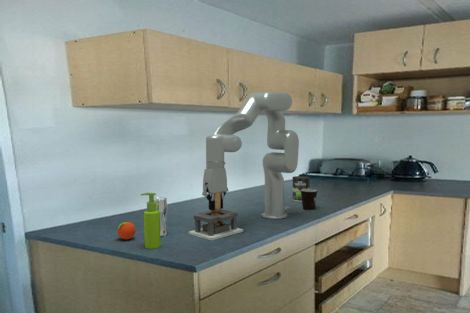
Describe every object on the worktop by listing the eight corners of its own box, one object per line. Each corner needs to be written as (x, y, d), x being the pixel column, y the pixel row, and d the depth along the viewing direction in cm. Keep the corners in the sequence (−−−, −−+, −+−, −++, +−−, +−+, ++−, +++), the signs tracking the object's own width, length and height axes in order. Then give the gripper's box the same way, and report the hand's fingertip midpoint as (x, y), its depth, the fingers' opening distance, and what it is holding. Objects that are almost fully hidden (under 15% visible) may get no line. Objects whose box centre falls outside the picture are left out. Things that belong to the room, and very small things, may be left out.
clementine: (123, 243, 147) (122, 225, 147) (111, 240, 151) (111, 222, 151) (139, 238, 154) (139, 220, 153) (128, 235, 158) (127, 218, 157)
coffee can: (308, 202, 226) (308, 178, 225) (291, 201, 229) (291, 177, 228) (310, 199, 235) (310, 176, 234) (293, 198, 238) (293, 175, 237)
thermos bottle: (216, 224, 164) (215, 182, 163) (223, 225, 161) (222, 183, 160) (209, 226, 161) (208, 183, 160) (215, 227, 158) (215, 184, 157)
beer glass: (168, 236, 157) (168, 199, 156) (151, 237, 155) (150, 200, 154) (166, 231, 163) (166, 196, 162) (150, 233, 161) (149, 197, 160)
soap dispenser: (147, 243, 147) (145, 191, 146) (163, 244, 145) (162, 192, 144) (139, 247, 142) (137, 194, 140) (155, 249, 140) (154, 194, 138)
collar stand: (220, 225, 173) (220, 208, 172) (243, 231, 163) (242, 212, 162) (188, 234, 160) (188, 214, 159) (211, 240, 150) (210, 220, 149)
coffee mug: (309, 206, 213) (309, 188, 213) (320, 209, 206) (320, 190, 205) (293, 209, 207) (293, 190, 206) (304, 211, 200) (304, 192, 199)
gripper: (223, 163, 168) (224, 204, 169) (193, 166, 156) (194, 211, 157) (235, 164, 163) (236, 207, 164) (206, 167, 151) (206, 213, 152)
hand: (215, 208), depth 161 cm, fingers closed on thermos bottle, 3 cm apart
